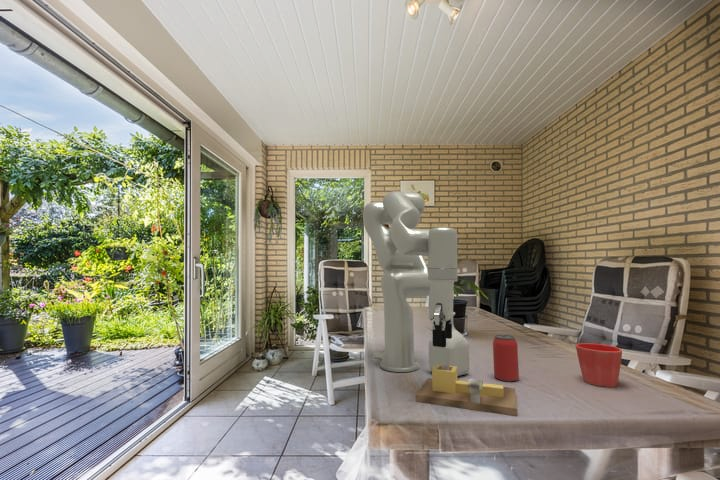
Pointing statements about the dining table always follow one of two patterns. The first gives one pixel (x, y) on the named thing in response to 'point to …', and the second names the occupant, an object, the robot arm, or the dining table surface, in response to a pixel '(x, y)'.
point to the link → (459, 383)
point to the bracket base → (469, 397)
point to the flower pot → (599, 363)
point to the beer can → (505, 358)
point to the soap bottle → (451, 352)
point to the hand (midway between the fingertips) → (442, 342)
